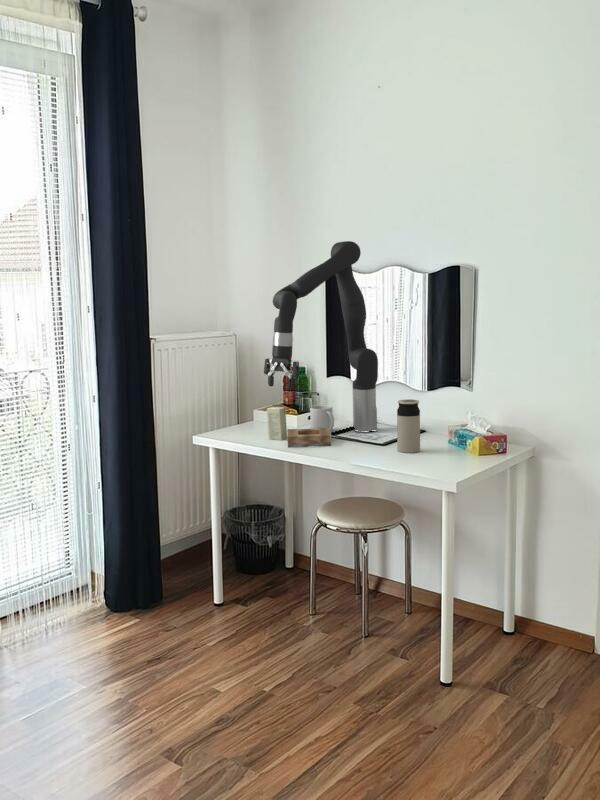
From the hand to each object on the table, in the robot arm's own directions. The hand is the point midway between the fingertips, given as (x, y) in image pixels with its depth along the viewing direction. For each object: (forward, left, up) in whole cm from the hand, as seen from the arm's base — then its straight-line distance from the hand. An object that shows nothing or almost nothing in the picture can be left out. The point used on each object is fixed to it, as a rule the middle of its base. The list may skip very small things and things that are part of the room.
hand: (280, 387), depth 304 cm
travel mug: (-45, +23, -21) cm, 55 cm away
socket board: (-10, +4, -21) cm, 24 cm away
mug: (-16, -15, -21) cm, 30 cm away
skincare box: (+2, -5, -21) cm, 22 cm away
